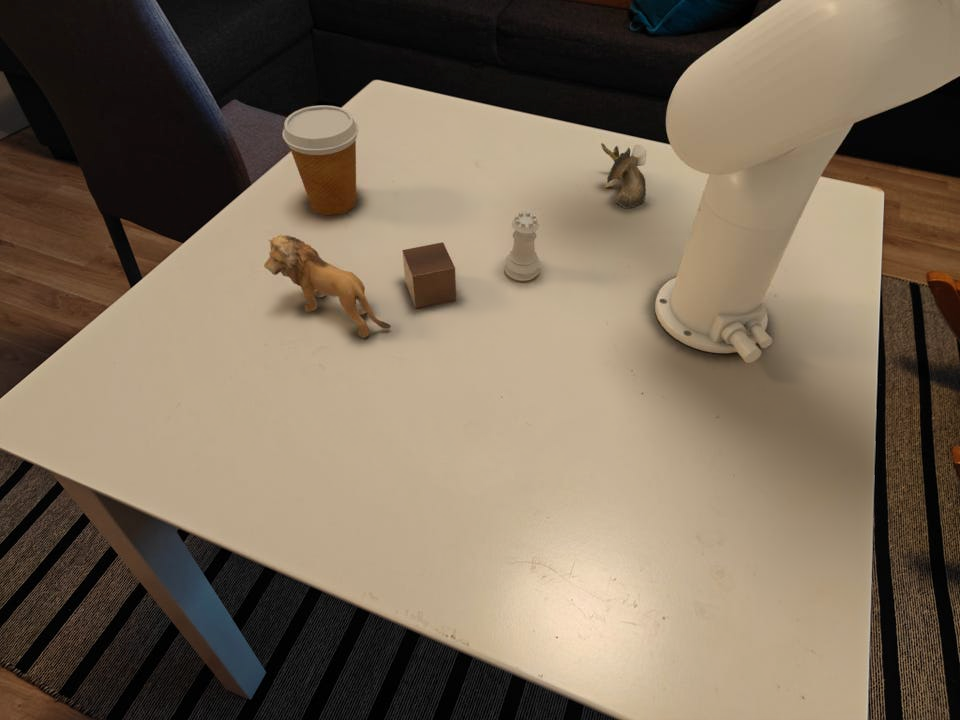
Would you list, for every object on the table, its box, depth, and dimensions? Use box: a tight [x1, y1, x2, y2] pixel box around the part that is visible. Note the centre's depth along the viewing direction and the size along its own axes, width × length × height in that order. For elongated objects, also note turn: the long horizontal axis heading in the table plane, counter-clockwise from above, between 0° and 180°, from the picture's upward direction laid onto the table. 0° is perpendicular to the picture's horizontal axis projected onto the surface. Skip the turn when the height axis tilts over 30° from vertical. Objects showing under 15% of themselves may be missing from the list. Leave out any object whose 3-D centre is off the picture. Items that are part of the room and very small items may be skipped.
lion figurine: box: [263, 234, 392, 339], centre depth 72 cm, size 15×5×9 cm, turn 66°
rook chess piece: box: [503, 211, 541, 282], centre depth 78 cm, size 4×4×8 cm
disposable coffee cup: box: [282, 104, 359, 216], centre depth 86 cm, size 10×10×12 cm
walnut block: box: [401, 242, 457, 310], centre depth 76 cm, size 5×5×5 cm
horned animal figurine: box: [600, 142, 647, 209], centre depth 91 cm, size 8×7×9 cm
